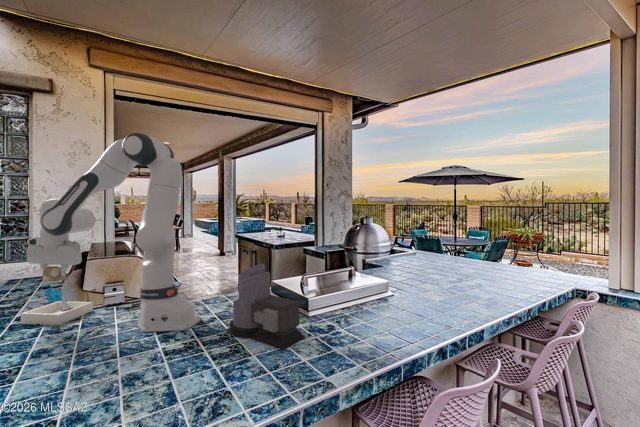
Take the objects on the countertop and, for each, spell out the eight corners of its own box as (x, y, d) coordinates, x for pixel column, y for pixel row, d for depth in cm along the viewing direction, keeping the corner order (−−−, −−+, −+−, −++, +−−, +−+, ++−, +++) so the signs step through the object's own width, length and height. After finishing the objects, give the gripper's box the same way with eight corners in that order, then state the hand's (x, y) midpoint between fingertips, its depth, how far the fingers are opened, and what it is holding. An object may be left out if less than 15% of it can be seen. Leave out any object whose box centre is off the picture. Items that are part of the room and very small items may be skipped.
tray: (92, 311, 138) (92, 302, 138) (59, 325, 122) (58, 314, 122) (58, 310, 139) (58, 301, 139) (20, 323, 124) (20, 313, 123)
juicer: (217, 330, 117) (217, 263, 116) (251, 318, 130) (251, 257, 129) (278, 353, 99) (277, 274, 98) (310, 336, 112) (310, 265, 111)
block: (66, 278, 129) (66, 265, 129) (54, 281, 124) (54, 268, 124) (54, 277, 129) (54, 265, 129) (42, 280, 124) (42, 267, 124)
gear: (55, 304, 142) (41, 288, 143) (45, 314, 142) (31, 297, 143) (75, 300, 153) (61, 285, 154) (65, 309, 153) (52, 294, 154)
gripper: (86, 240, 128) (86, 274, 129) (38, 238, 130) (38, 272, 130) (72, 241, 122) (72, 278, 122) (22, 240, 124) (23, 276, 124)
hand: (54, 275), depth 126 cm, fingers closed on block, 5 cm apart
